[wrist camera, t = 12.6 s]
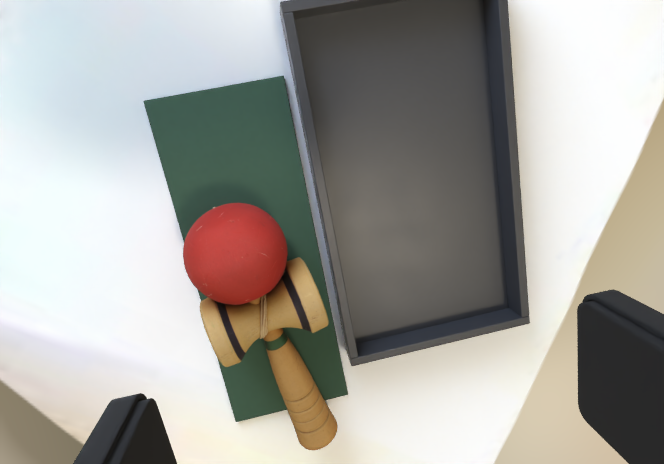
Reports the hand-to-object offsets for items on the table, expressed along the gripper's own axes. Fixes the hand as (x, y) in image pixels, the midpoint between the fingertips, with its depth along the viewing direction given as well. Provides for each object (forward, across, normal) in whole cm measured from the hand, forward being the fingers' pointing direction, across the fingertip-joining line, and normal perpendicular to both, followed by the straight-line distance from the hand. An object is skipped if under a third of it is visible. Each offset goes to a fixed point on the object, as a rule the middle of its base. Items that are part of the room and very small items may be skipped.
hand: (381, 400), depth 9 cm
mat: (+20, +4, +3) cm, 21 cm away
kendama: (+20, +4, +7) cm, 21 cm away
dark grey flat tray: (+20, -7, -1) cm, 21 cm away
